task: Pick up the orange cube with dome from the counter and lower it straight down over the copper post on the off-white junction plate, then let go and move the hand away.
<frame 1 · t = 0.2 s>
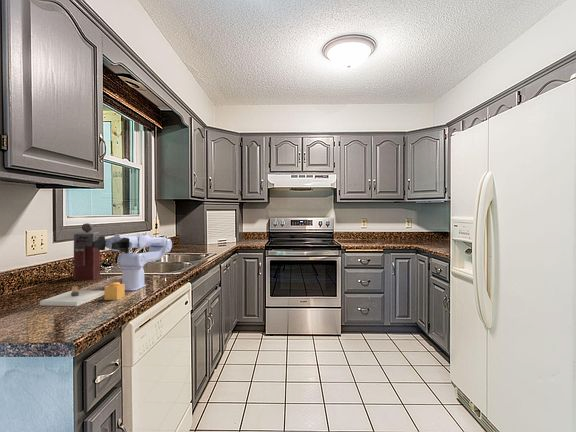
hand: (102, 245, 117), 21 cm above the worktop, tool horizontal, fingers open, 7 cm apart
junction plate: (75, 299, 120), on the worktop
orange cube with dome: (114, 298, 122), on the worktop
glass decanter: (86, 279, 157), on the worktop
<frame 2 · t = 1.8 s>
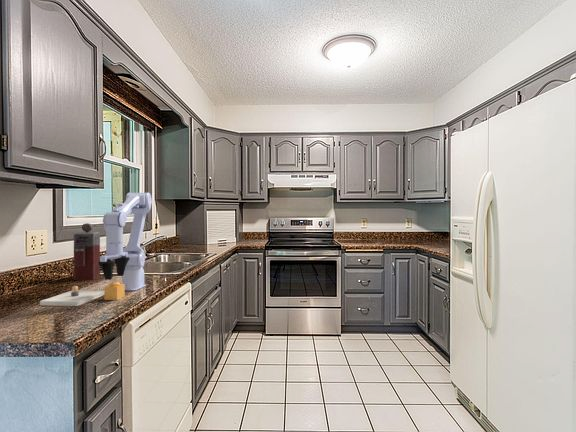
hand: (114, 277, 122), 8 cm above the worktop, tool pointing down, fingers open, 7 cm apart
nothing on the worktop moved.
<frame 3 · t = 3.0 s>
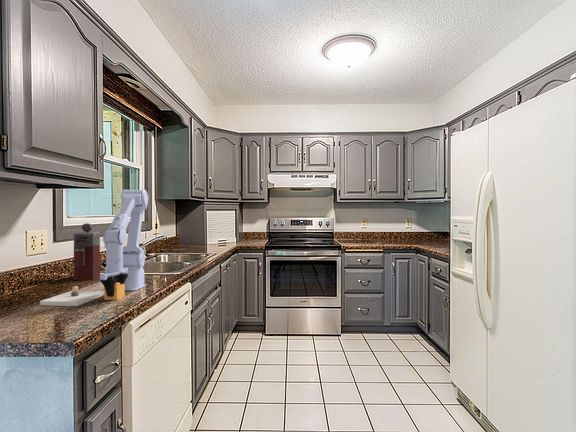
hand: (114, 294, 122), 1 cm above the worktop, tool pointing down, fingers closed on orange cube with dome, 5 cm apart
orange cube with dome: (114, 298, 122), on the worktop, touching gripper
everything else where it was.
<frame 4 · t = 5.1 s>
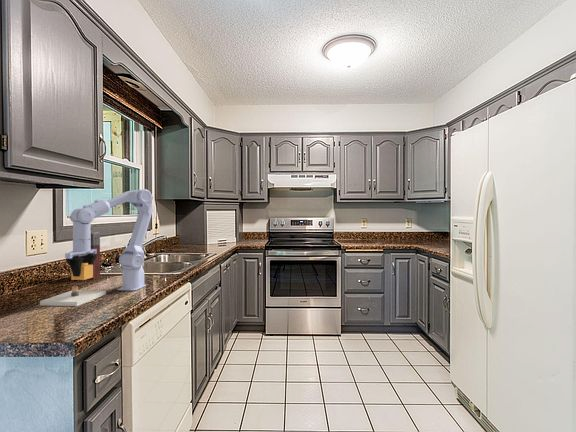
hand: (81, 274, 120), 9 cm above the worktop, tool pointing down, fingers closed on orange cube with dome, 5 cm apart
orange cube with dome: (82, 278, 120), point 8 cm above the worktop, touching gripper
everything else where it was.
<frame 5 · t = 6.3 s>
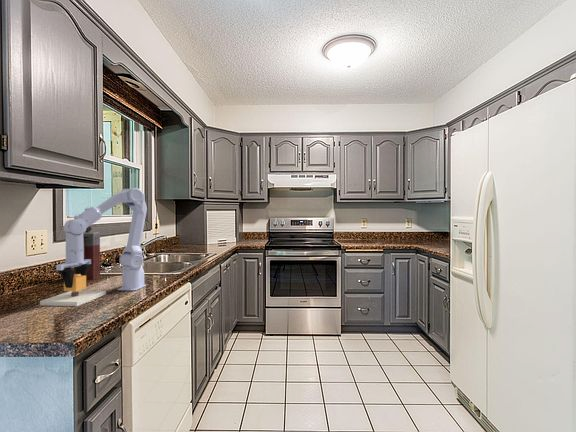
hand: (74, 285, 119), 5 cm above the worktop, tool pointing down, fingers closed on orange cube with dome, 5 cm apart
orange cube with dome: (75, 289, 119), point 4 cm above the worktop, touching gripper
everything else where it was.
when the fingers open (3 cm above the worktop, at t = 7.3 s): orange cube with dome stays where it is, resting on junction plate.
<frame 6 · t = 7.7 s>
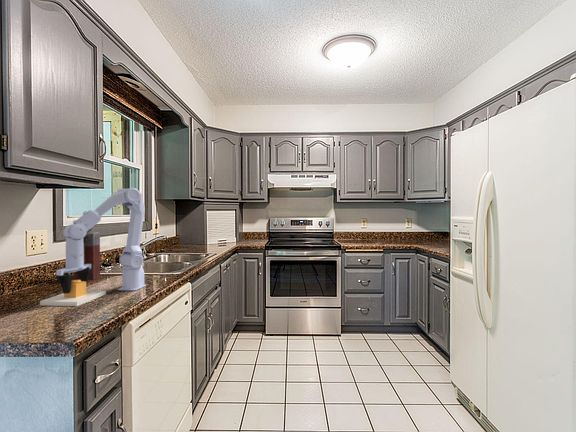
hand: (74, 290, 120), 3 cm above the worktop, tool pointing down, fingers open, 7 cm apart
orange cube with dome: (75, 295, 119), point 1 cm above the worktop, touching junction plate
everything else where it was.
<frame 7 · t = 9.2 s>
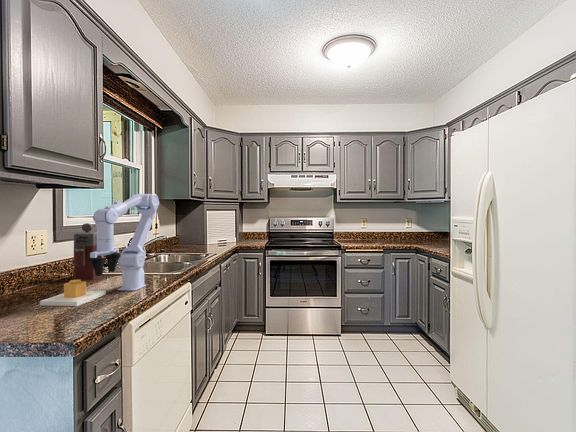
hand: (105, 273, 123), 9 cm above the worktop, tool pointing down, fingers open, 7 cm apart
nothing on the worktop moved.
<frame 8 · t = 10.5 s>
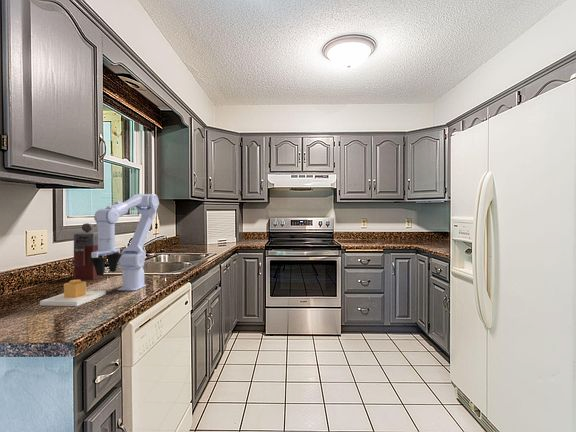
hand: (106, 273, 123), 9 cm above the worktop, tool pointing down, fingers open, 7 cm apart
nothing on the worktop moved.
at the end: orange cube with dome 0.2 cm from the junction plate (horizontally); orange cube with dome point 1.5 cm above the worktop; orange cube with dome tilted 0° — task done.
